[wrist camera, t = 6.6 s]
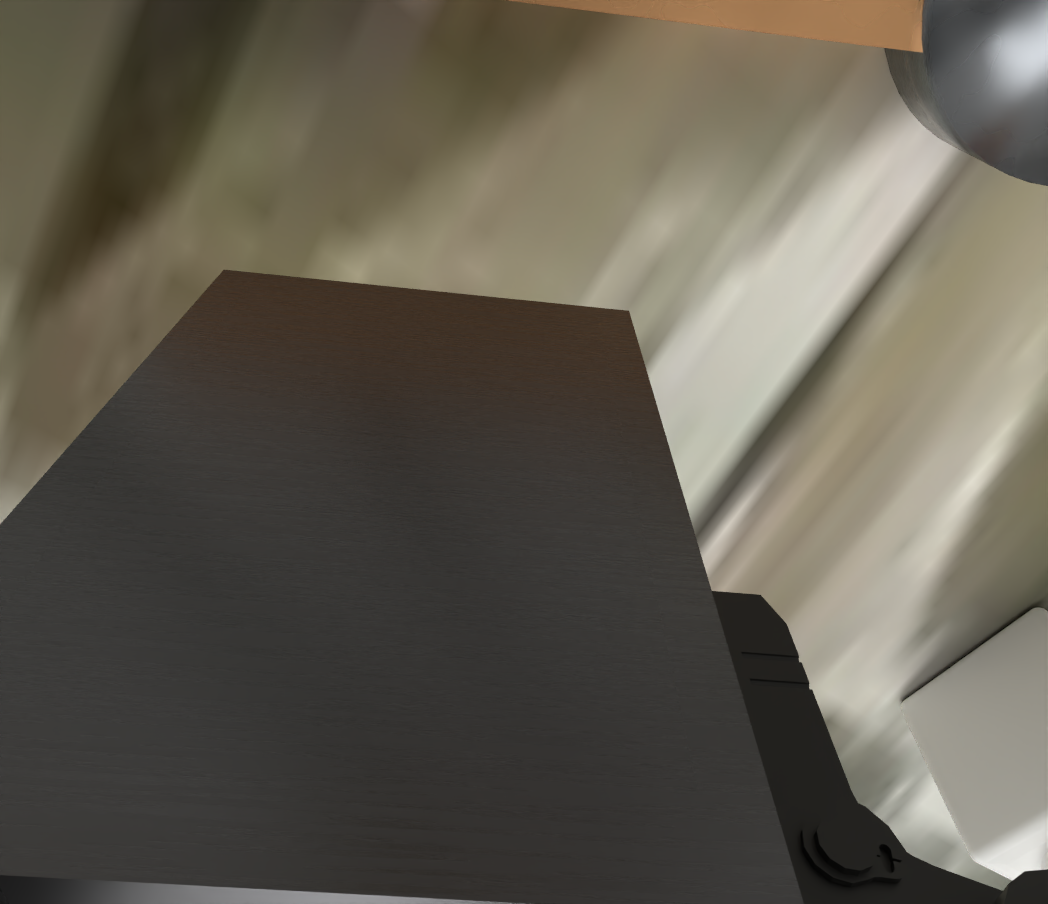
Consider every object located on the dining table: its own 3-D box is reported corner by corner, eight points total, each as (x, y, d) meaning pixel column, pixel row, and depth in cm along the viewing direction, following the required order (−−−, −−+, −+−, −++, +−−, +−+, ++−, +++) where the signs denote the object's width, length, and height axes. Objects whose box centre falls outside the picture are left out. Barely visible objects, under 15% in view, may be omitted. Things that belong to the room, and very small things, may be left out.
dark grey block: (251, 580, 15) (-18, 1235, 8) (224, 269, 12) (-295, 858, 4) (572, 605, 15) (625, 1251, 8) (628, 310, 12) (808, 919, 5)
